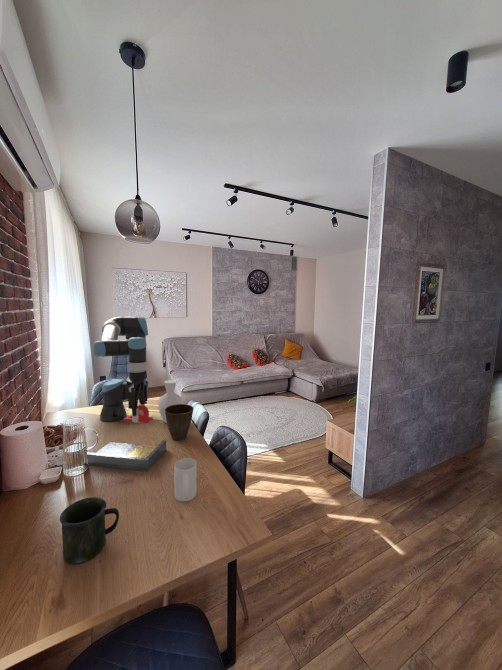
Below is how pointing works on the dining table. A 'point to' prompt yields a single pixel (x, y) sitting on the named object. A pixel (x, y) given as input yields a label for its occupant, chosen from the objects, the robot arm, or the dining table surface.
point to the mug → (85, 529)
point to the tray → (127, 456)
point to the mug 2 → (185, 479)
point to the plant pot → (179, 420)
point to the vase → (168, 398)
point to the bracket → (142, 418)
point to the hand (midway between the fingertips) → (138, 419)
